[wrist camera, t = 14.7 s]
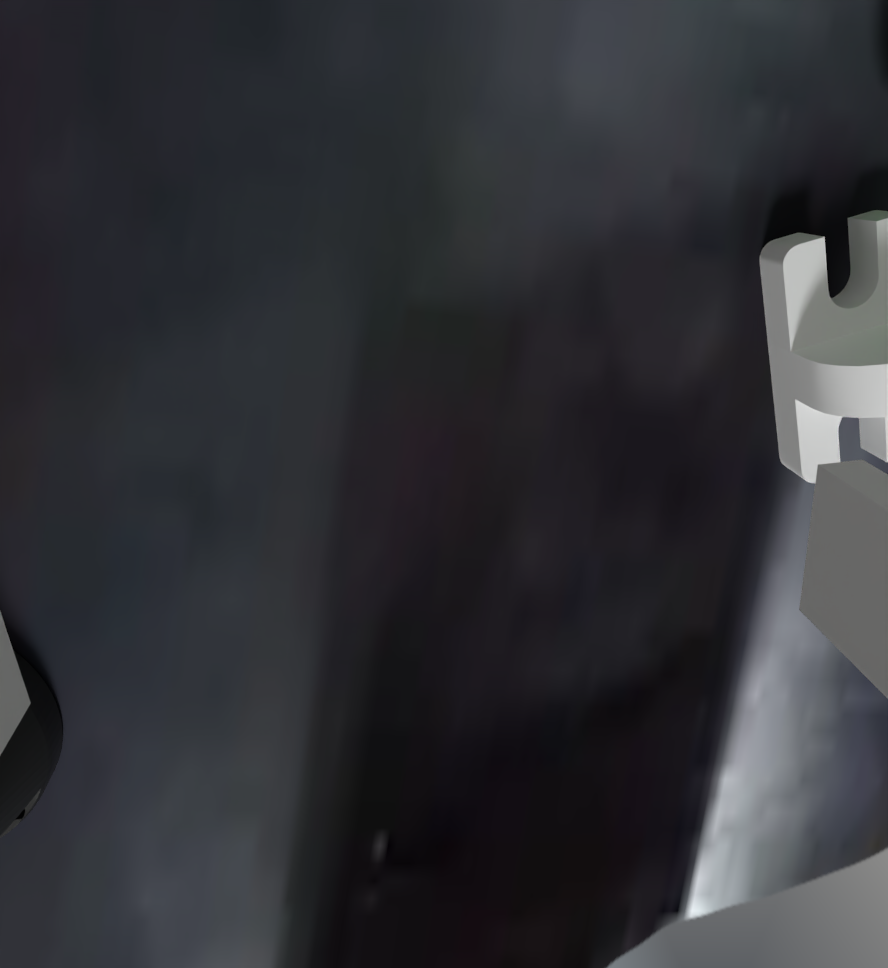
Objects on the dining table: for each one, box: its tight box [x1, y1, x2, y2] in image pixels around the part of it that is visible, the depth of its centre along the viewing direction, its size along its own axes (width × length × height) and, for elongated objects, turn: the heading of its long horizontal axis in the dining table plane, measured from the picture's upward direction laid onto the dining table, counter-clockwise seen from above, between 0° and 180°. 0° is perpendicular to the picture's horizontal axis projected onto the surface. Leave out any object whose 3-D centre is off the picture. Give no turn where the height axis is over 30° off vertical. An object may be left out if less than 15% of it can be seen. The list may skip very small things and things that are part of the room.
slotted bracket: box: [760, 210, 888, 483], centre depth 39 cm, size 13×7×8 cm, turn 15°
